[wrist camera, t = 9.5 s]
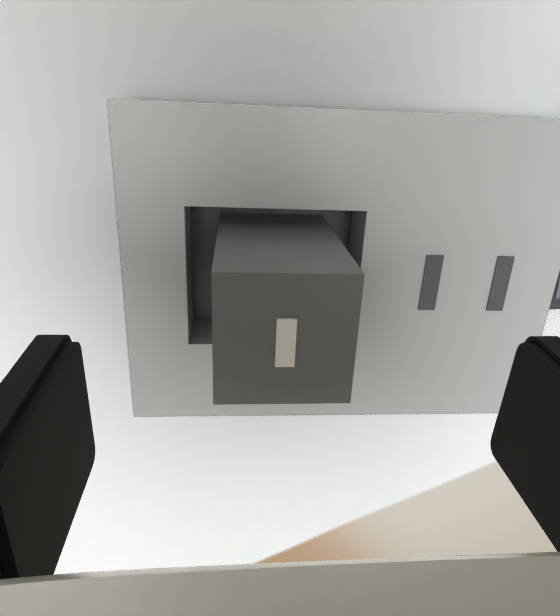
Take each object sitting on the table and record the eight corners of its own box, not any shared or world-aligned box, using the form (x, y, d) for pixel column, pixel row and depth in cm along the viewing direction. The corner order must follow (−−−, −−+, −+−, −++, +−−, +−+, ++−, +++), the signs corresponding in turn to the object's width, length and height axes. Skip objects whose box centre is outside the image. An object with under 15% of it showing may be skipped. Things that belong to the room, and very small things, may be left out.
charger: (220, 212, 21) (211, 273, 14) (321, 214, 22) (365, 275, 14) (220, 306, 23) (213, 406, 16) (315, 307, 23) (350, 405, 16)
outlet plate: (125, 98, 20) (106, 99, 17) (553, 118, 21) (601, 121, 19) (145, 381, 25) (133, 418, 22) (491, 380, 26) (521, 414, 24)
